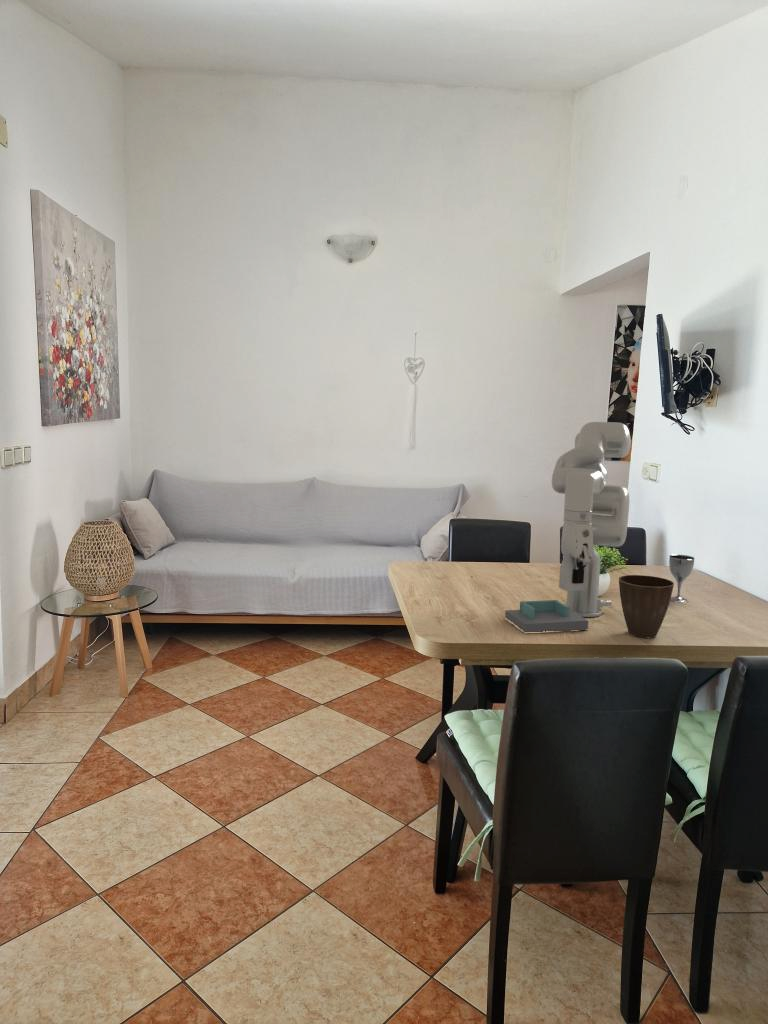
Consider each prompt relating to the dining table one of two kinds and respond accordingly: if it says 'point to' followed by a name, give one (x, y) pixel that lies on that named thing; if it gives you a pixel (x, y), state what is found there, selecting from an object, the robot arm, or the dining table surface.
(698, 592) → the dining table surface
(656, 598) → the plant pot
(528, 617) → the dock
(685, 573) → the wine glass
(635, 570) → the dining table surface
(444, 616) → the dining table surface
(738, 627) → the dining table surface
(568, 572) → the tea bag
